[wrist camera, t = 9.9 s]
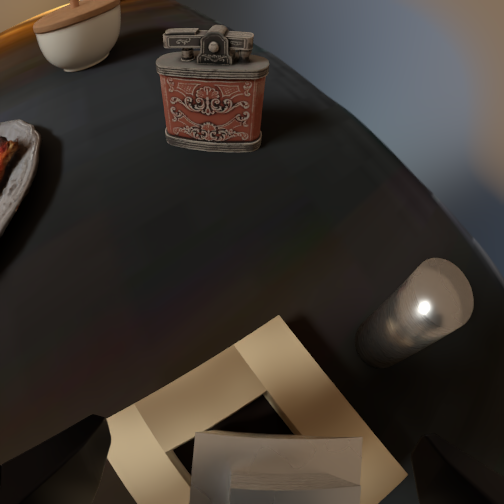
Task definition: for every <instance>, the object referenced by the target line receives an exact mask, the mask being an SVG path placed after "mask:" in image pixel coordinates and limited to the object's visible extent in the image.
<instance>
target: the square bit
mask: <svg viewBox="0 0 504 504" xmlns="http://www.w3.org/2000/svg"><path fill="white" fill-rule="evenodd" d="M362 439H363V437H325V436H304V435H290V434H263V433H247V432H234V431H223V430H211V431H202V432H195V443H194V453H193V464H192V475H191V487H190V500H189V504H360V496H361V485H360V478H361V462H362Z"/></svg>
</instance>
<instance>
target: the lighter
mask: <svg viewBox="0 0 504 504" xmlns="http://www.w3.org/2000/svg"><path fill="white" fill-rule="evenodd" d="M253 36H254V35H253V33H248V32H234V31H229V30H228V29H227V28H226V27H225V26H223V25H215V26H212V27H211V28H210V30H208V31H206V30H199V28H180V29H168V30H167V31H166V33H164V34H163V42H164V48H183V49H182V52H174V53H168V54H165V55H163V56H161V57H159V58H158V59H157V60H156V67H157V72H158V73H159V74H160V80H161V88H162V96H163V104H164V111H165V118H166V126H167V127H166V130H165V133H166V139H167V142H168V143H169V144H171V145H173V146H178V147H183V148H188V149H195V150H202V151H212V152H252V151H255V150H257V149H258V148H259V147H260V145H261V138H262V133H261V131H260V126H261V116H262V106H263V96H264V85H265V76H267V74H268V71H269V61H268V60H267V59H265V58H263V57H260V56H255V55H250V54H251V51H252V48H253ZM193 48H201V51H193ZM235 50H238V53H236V52H235Z"/></svg>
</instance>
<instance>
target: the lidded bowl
mask: <svg viewBox="0 0 504 504" xmlns="http://www.w3.org/2000/svg"><path fill="white" fill-rule="evenodd" d="M120 26H121V12H120V0H81V1H79V0H70V5H67V6H65V7H62V8H60V9H58V10H55V11H53V12H51V13H49V14H48V15H46V16H44V17H42V18H41V19H40V20H38V21H37V22H36V23H35V24H34V26H33V29H34V32H35V33H36V37H37V40H38V44H39V46H40V49H41V51H42V53H43V54H44V56H45V58H46V59H47V60H48V61H49V62H50V63H51V64H53V65H54V66H57V67H59V68H62V69H64V71H66V72H75V71H80V70H83V69H86V68H89V67H91V66H94V65H96V64H98V63H100V62H101V61H103V60H104V59H106V58H107V57H108V55H109V51H110V50H111V49H112V48H113V46H114V45H115V43H116V41H117V39H118V36H119V33H120Z"/></svg>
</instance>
